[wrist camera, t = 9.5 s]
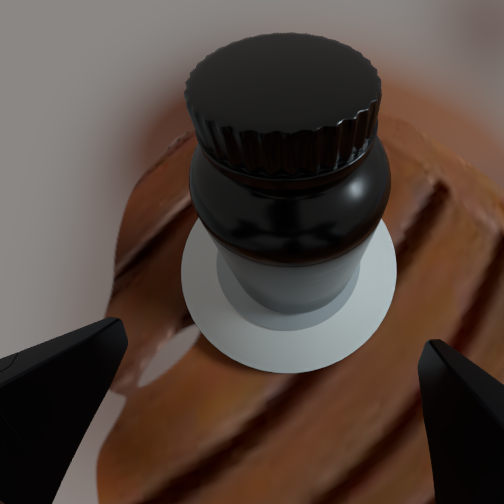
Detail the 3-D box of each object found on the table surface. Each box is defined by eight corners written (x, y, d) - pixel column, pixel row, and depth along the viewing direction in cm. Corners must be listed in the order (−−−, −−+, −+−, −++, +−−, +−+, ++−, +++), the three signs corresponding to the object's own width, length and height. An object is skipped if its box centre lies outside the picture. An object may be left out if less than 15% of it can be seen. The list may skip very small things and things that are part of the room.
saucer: (275, 417, 15) (273, 421, 13) (156, 261, 20) (145, 251, 18) (426, 272, 17) (436, 262, 15) (293, 156, 22) (292, 141, 20)
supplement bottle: (212, 259, 17) (105, 95, 7) (293, 189, 19) (277, 8, 8) (293, 344, 15) (281, 252, 4) (376, 258, 16) (460, 81, 5)
